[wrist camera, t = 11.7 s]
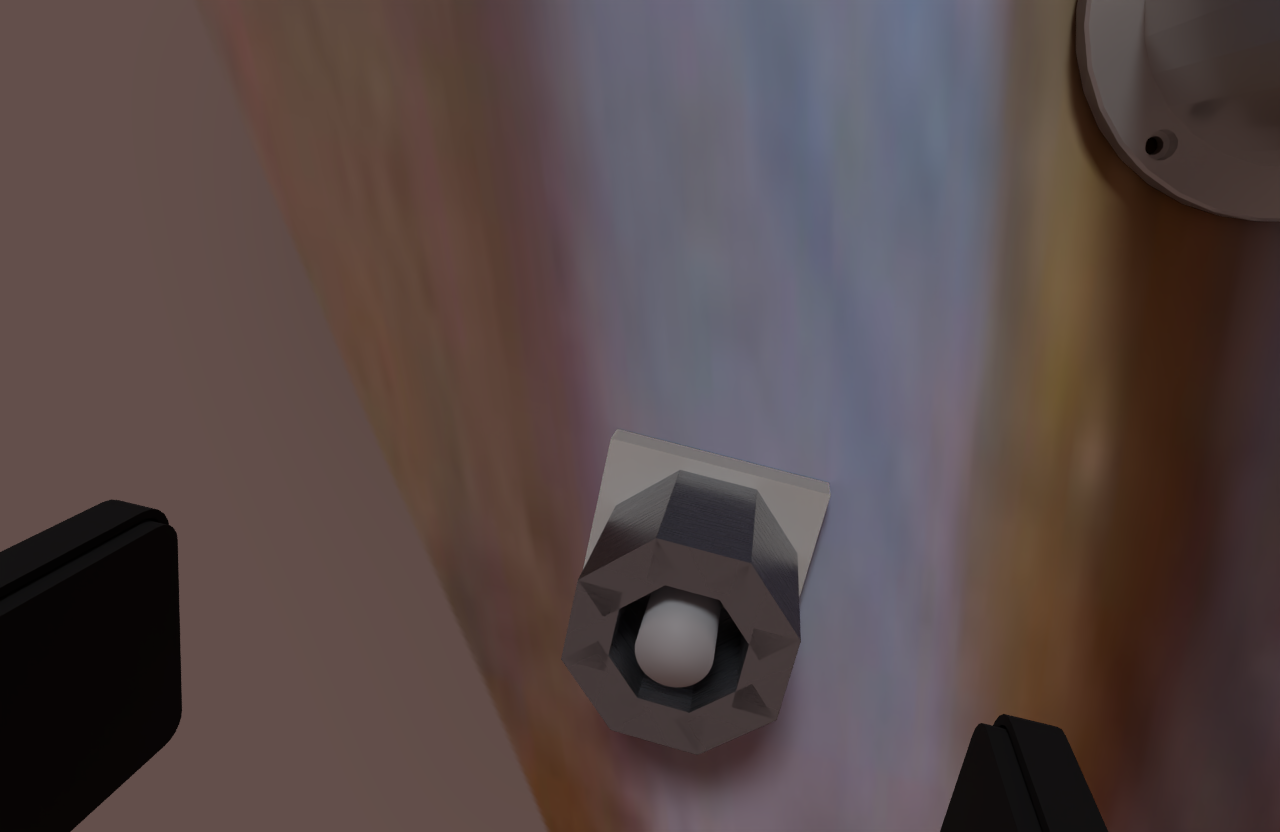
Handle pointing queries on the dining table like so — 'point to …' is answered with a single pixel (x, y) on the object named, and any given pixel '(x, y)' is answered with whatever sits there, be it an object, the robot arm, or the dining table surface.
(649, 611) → the shaft block
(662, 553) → the ring
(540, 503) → the dining table surface
